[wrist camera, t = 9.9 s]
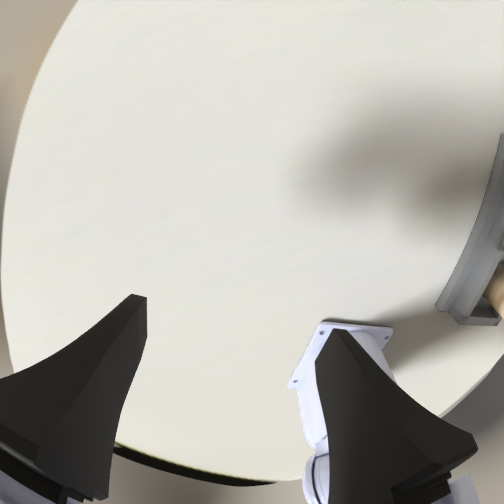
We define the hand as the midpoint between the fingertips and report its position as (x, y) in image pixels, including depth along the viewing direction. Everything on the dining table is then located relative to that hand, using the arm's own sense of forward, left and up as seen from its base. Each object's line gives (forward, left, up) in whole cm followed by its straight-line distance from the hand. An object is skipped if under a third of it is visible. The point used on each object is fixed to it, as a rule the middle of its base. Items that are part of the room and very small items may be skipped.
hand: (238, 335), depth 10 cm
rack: (+6, -26, -9) cm, 28 cm away
